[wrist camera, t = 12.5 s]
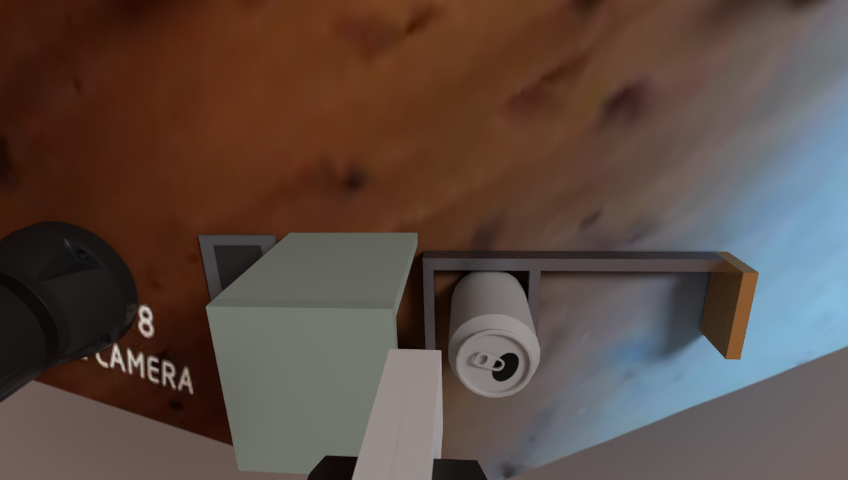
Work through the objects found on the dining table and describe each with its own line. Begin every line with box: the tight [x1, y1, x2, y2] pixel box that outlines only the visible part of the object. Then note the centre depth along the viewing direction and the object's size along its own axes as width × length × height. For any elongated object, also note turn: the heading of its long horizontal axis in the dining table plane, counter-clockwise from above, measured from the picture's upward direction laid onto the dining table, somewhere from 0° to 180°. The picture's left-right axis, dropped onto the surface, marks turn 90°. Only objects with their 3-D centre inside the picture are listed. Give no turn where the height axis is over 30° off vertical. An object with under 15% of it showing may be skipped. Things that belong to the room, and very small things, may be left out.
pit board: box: [198, 235, 277, 301], centre depth 50 cm, size 8×14×1 cm, turn 2°
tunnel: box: [206, 233, 421, 474], centre depth 42 cm, size 13×14×16 cm
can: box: [448, 270, 540, 398], centre depth 43 cm, size 8×8×12 cm
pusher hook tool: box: [423, 251, 759, 360], centre depth 45 cm, size 28×10×5 cm, turn 92°
